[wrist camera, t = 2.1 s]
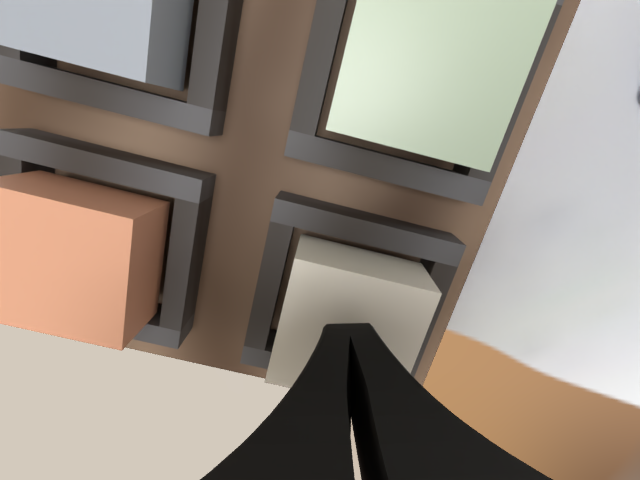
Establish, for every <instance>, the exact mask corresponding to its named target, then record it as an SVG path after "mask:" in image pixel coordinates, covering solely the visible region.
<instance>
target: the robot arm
mask: <svg viewBox="0 0 640 480" xmlns="http://www.w3.org/2000/svg"><path fill="white" fill-rule="evenodd" d="M351 419H352V425H353V431H354V437H355V442H356V449H357V455H358V461H359V467H360V472H361V478H362V480H553V479H551V478H549V477H547V476H545V475H544V474H542V473H540V472H539V471H537V470H535V469H534V468H532V467H530V466H529V465H527V464H525V463H524V462H522V461H520V460H519V459H517V458H516V457H514V456H512V455H511V454H509V453H508V452H506V451H505V450H503V449H501V448H500V447H498V446H497V445H496V444H494V443H492V442H491V441H489V440H488V439H487V438H485V437H484V436H483V435H481V434H480V433H478V432H477V431H476V430H474V429H472V428H471V427H470V426H469V425H467V424H466V423H464V422H463V421H462V420H460V419H459V418H458V417H457V416H455V415H454V414H453V413H452V412H451V411H449V410H448V409H447V408H446V407H445V406H443V405H442V404H441V403H440V402H439V401H438V400H436V399H435V398H434V397H433V396H432V395H431V394H430V393H429V392H428V391H427V390H426V389H425V388H423V386H422V385H421V384H420V383H419V382H418V381H417V380H416V379H415V378H414V377H413V376H412V375H411V374H410V373H409V372H408V371H407V370H406V368H405V367H404V366H403V365H402V364H401V363H400V362H399V360H398V359H397V358H396V357H395V356H394V355H393V353H392V352H391V351H390V350H389V348H388V347H387V346H386V344H385V343H384V342H383V340H382V339H381V338H380V336H379V335H378V333H377V332H376V330H375V329H374V327H373V326H372V325H371V324H370V323H341V324H326V325H325V326H324V327H323V330H322V333H321V336H320V339H319V341H318V343H317V345H316V347H315V349H314V351H313V353H312V355H311V357H310V358H309V360H308V362H307V364H306V366H305V367H304V369H303V370H302V372H301V373H300V375H299V376H298V378H297V379H296V381H295V382H294V384H293V386H292V387H291V388H290V390H289V391H288V393H287V394H286V395H285V397H284V398H283V399H282V400H281V402H280V403H279V404H278V405H277V407H276V408H275V409H274V410H273V411H272V413H271V414H270V415H269V416H268V417H267V418H266V419H265V420H264V421H263V422H262V424H261V425H260V426H259V427H258V428H257V429H256V430H255V431H254V432H253V433H252V434H251V435H250V436H249V437H248V438H247V439H246V440H245V441H244V442H243V443H242V444H241V445H240V446H239V447H238V448H236V449H235V450H234V451H233V452H232V453H231V454H230V455H229V456H228V457H226V458H225V459H224V460H223V461H222V462H221V463H220V464H218V466H216V467H215V468H214V469H213V470H212V471H210V472H209V473H208V474H207V475H206V476H204V477H203V478H202V479H200V480H355V479H354V469H353V460H352V449H351V439H350V432H351Z"/></svg>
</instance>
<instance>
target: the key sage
mask: <svg viewBox="0 0 640 480" xmlns="http://www.w3.org/2000/svg"><path fill="white" fill-rule="evenodd" d="M556 2H557V0H357V2H356V6H355V10H354V14H353V18H352V22H351V27H350V31H349V35H348V39H347V43H346V47H345V51H344V55H343V60H342V64H341V68H340V72H339V76H338V80H337V84H336V89H335V93H334V97H333V101H332V105H331V109H330V113H329V118H328V122H327V126H326V130H329V131H333V132H337V133H340V134H344V135H348V136H352V137H356V138H360V139H363V140H367V141H371V142H375V143H379V144H383V145H386V146H390V147H394V148H398V149H402V150H406V151H409V152H413V153H417V154H421V155H425V156H429V157H432V158H436V159H440V160H444V161H448V162H452V163H456V164H459V165H463V166H467V167H471V168H475V169H479V170H482V171H486V172H490V170H491V168H492V165H493V163H494V160H495V158H496V155H497V152H498V150H499V147H500V145H501V142H502V140H503V137H504V135H505V132H506V130H507V127H508V125H509V122H510V119H511V117H512V114H513V112H514V109H515V107H516V104H517V102H518V99H519V97H520V94H521V91H522V89H523V86H524V84H525V81H526V79H527V76H528V74H529V71H530V69H531V66H532V63H533V61H534V58H535V56H536V53H537V51H538V48H539V46H540V43H541V41H542V38H543V35H544V33H545V30H546V28H547V25H548V23H549V20H550V18H551V15H552V13H553V10H554V8H555V5H556Z"/></svg>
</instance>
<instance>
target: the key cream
mask: <svg viewBox="0 0 640 480" xmlns="http://www.w3.org/2000/svg"><path fill="white" fill-rule="evenodd" d="M441 295H442V293H441V292H440V290H439V289H438V287H437V286H436V284H435V283H434V281H433V280H432V278H431V277H430V275H429V274H428V272H427V271H426V269H425V268H424V266H423V265H422V263H418V262H414V261H410V260H406V259H402V258H398V257H393V256H389V255H385V254H381V253H377V252H373V251H369V250H365V249H361V248H357V247H353V246H348V245H344V244H340V243H336V242H332V241H328V240H324V239H320V238H316V237H312V236H308V235H303V234H301V236H300V239H299V243H298V247H297V251H296V254H295V258H294V262H293V266H292V271H291V275H290V279H289V283H288V287H287V291H286V295H285V300H284V304H283V308H282V312H281V316H280V320H279V324H278V329H277V333H276V337H275V341H274V345H273V349H272V353H271V358H270V362H269V366H268V370H267V374H266V378H265V382H266V383H271V384H275V385H279V386H284V387H288V388H291V387H292V386H293V384H294V382H295V381H296V379H297V378H298V376H299V375H300V373H301V372H302V370H303V369H304V367H305V366H306V364H307V362H308V360H309V358H310V357H311V355H312V353H313V351H314V349H315V347H316V345H317V343H318V341H319V339H320V336H321V333H322V330H323V327H324V326H325V325H326V324H341V323H370V324H371V325H372V326H373V327H374V329H375V330H376V332H377V333H378V335H379V336H380V338H381V339H382V340H383V342H384V343H385V344H386V346H387V347H388V348H389V350H390V351H391V352H392V353H393V355H394V356H395V357H396V358H397V359H398V360H399V362H400V363H401V364H402V365H403V366H404V367H405V368H406V370H407V371H408V372H409V373H410V374H411V371H412V369H413V366H414V364H415V361H416V359H417V356H418V353H419V351H420V348H421V346H422V343H423V341H424V338H425V336H426V333H427V331H428V328H429V325H430V323H431V320H432V318H433V315H434V313H435V310H436V308H437V305H438V303H439V300H440V297H441Z"/></svg>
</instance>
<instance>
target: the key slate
mask: <svg viewBox="0 0 640 480" xmlns="http://www.w3.org/2000/svg"><path fill="white" fill-rule="evenodd" d="M193 5H194V0H0V45H3V46H6V47H10V48H14V49H18V50H22V51H26V52H29V53H33V54H37V55H41V56H45V57H49V58H52V59H56V60H60V61H64V62H68V63H72V64H75V65H79V66H83V67H87V68H91V69H95V70H98V71H102V72H106V73H110V74H114V75H118V76H122V77H125V78H129V79H133V80H137V81H141V82H145V83H149V84H153V85H157V86H162V87H166V88H170V89H174V90H179V91H183V89H184V81H185V72H186V64H187V55H188V47H189V39H190V30H191V22H192V13H193Z"/></svg>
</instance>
